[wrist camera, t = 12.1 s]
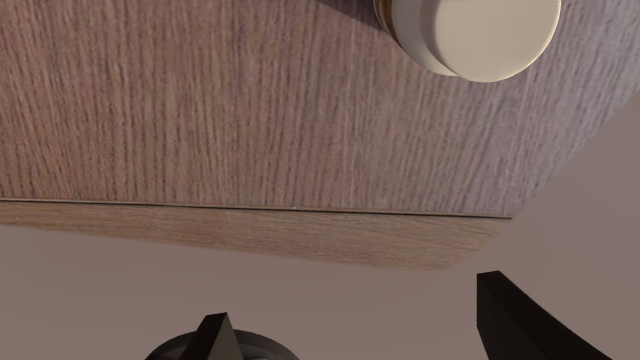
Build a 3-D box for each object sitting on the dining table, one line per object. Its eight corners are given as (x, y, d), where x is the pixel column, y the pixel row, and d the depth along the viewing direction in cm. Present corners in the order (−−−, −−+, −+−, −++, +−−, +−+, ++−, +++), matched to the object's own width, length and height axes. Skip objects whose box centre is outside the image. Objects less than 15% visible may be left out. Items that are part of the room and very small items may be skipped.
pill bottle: (350, 8, 19) (380, 46, 12) (416, -95, 17) (493, -118, 10) (430, 64, 20) (499, 128, 13) (499, -26, 19) (617, -7, 12)
